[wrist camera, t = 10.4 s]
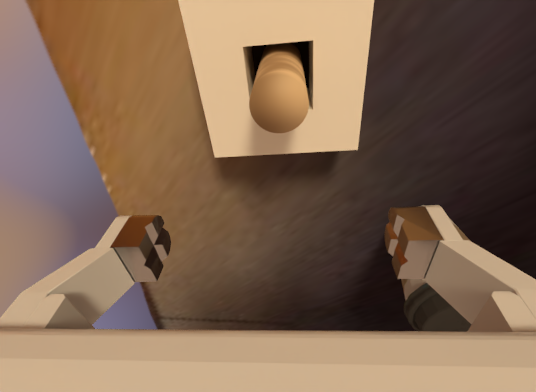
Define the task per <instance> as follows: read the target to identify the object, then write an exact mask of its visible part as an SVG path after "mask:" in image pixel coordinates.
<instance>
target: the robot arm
mask: <svg viewBox="0 0 536 392" xmlns="http://www.w3.org/2000/svg"><path fill="white" fill-rule="evenodd" d="M388 217H389V220H390V223H389V224H387V225H386V228H385V244H386V248H387V251H388V253H390V254H391V255H392V256H393V259H392V265H393V268H394V271H395V273H396V276H397V279H425V280H424V281H425V282H427V283H428V284H429V285H430V286H431V287H432V288H433V289H434V290H435V291H436V292H437V293H438V294H439V295H440V296H442V297H443V298H444V299H445V300H446V301H447V302H448V303H449V304H450V305H451V306H452V307H453V308H454V309H455V310H457V311H458V312H459V313H460V314H461V315H462V316H463V317H464V318H465V319H466V320H467V321H468V322H469V323H470V324H472V325H471V327H470V328H469V330H468V331H467V332H442V331H284V330H146V329H145V330H144V329H138V330H137V329H135V330H134V329H95V328H94V327H93V326H92V324H93V323H94V322H95V321H96V320H97V319H98V318H99V317H100V316H101V315H102V314H103V313H104V312H106V311H107V310H108V309H109V308H110V307H111V306H112V305H113V304H114V303H115V302H116V301H117V300H118V299H119V298H120V297H121V296H122V295H123V294H124V293H125V292H126V291H127V290H128V289H129V288H130V287H131V286H132V285H133V284H134V282H150V281H157V280H158V278H159V276H160V273H161V271H162V268H163V264H162V260H164V259H165V258H166V257H167V256H168V254H169V251H170V245H171V240H170V236H169V233H168V231H166V230H165V229H163V228H162V227H163V225H164V222H163V219H162V217H161V216H159V215H133V216H119V217H117V218H116V219H115V220H114V221H113V223H112V224H111V226H110V227H109V228H108V230H107V231H106V233H105V234H104V236H103V237H102V238H101V240H100V241H99V243H98V244H97V246H96V247H95V248H93V249H89V250H88V251H86V252H84V253H83V254H81V255H80V256H78V257H76V258H75V259H73V260H72V261H70V262H69V263H67V264H66V265H64V266H63V267H61V268H59V269H58V270H56V271H55V272H53V273H51V274H50V275H48V276H47V277H45V278H44V279H42V280H40V281H39V282H37V283H36V284H34V285H33V286H31V287H30V288H28V289H27V290H25V291H23V292H22V293H21V294H20V295H19V296H18V297H17V298H16V300H15V301H14V302H13V303H12V305H11V306H10V307H9V308H8V309H7V311H6V312H5V313H4V314H3V315H2V317H1V318H0V392H536V279H534V278H532V277H531V276H529V275H527V274H525V273H524V272H522V271H520V270H519V269H517V268H515V267H513V266H512V265H510V264H508V263H507V262H505V261H503V260H501V259H500V258H498V257H496V256H495V255H493V254H491V253H489V252H488V251H486V250H484V249H483V248H481V247H479V246H478V245H476V244H474V243H472V242H471V241H469V240H463V239H462V237H461V236H460V234H459V233H458V231H457V230H456V228H455V227H454V225H453V224H452V222H451V221H450V219H449V218H448V216H447V215H446V213H445V212H444V210H443V208H442V207H441V206H439V205H428V206H412V207H391V209H390V210H389V214H388Z"/></svg>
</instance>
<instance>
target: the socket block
mask: <svg viewBox="0 0 536 392" xmlns="http://www.w3.org/2000/svg"><path fill="white" fill-rule="evenodd" d="M178 1H179V5H180V10H181V14H182V18H183V23H184V27H185V31H186V35H187V40H188V44H189V48H190V53H191V57H192V61H193V66H194V70H195V74H196V79H197V83H198V87H199V91H200V96H201V100H202V104H203V109H204V113H205V117H206V122H207V126H208V130H209V134H210V139H211V143H212V147H213V152H214V156H215V158H216V157H235V156H253V155H271V154H289V153H307V152H326V151H344V150H358V142H359V133H360V124H361V115H362V106H363V97H364V88H365V79H366V70H367V61H368V52H369V43H370V33H371V24H372V15H373V6H374V0H178ZM301 41H309V88H307V93H308V99H309V109H308V113H307V116H306V118H305V119H304V121H303V122H302V123H301V124H300V125H299V126H298V127H297V128H295V129H294V130H292V131H289V132H286V133H272V132H269V131H266V130H264V129H262V128H261V127H260V126H259V125H258V124H257V123H256V122H255V121H254V119H253V118H252V116H251V113H250V108H249V100H250V95H251V92H252V88H253V85H254V81H255V72H254V63H253V54H252V46H257V45H268V44H279V43H290V42H301Z"/></svg>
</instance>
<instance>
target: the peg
mask: <svg viewBox="0 0 536 392" xmlns="http://www.w3.org/2000/svg"><path fill="white" fill-rule="evenodd" d="M249 108H250V113H251V116H252V118H253V119H254V121H255V122H256V123H257V124H258V125H259V126H260V127H261V128H262V129H264V130H266V131H269V132H272V133H286V132H289V131H292V130H294V129H295V128H297V127H298V126H299V125H300V124H301V123H302V122H303V121H304V119H305V118H306V116H307V113H308V109H309V99H308V93H307V87H306V81H305V76H304V70H303V64H302V58H301V54H300V51H299V49H298V47H297V46H296V45H295V44H294V43H293V42H290V43H279V44H268V45H267V46H266V48H265V49H264V51H263V53H262V57H261V60H260V64H259V67H258V71H257V74H256V78H255V81H254V85H253V88H252V92H251V95H250V100H249Z"/></svg>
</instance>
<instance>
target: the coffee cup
mask: <svg viewBox="0 0 536 392" xmlns="http://www.w3.org/2000/svg"><path fill="white" fill-rule="evenodd" d="M423 206H424V205H423ZM448 218H449V217H448ZM449 219H450V218H449ZM450 221H451V222H452V224H453V225H454V227H455V228H456V230H457V231H458V233H459V234H460V236H461V237H462V239H463V240H469V239H468V238H467V237H466V236H465V234H464V233H463V232H462V231H461V230H460V229H459V228H458V227H457V226H456V225H455V224H454V223H453V221H452V220H451V219H450ZM469 241H470V240H469ZM401 280H402V285H403V290H404V294H405V299H406V302H405V303H404V314H405V315H406V317H407V320H408V321H409V323H410V324H411V326H412V327H413V328H414V329H416V330H417V331H442V332H467V331H468V330H469V328H470V327H471V325H472V324H470V323H469V322H468V321H467V320H466V319H465V318H464V317H463V316H462V315H461V314H460V313H459V312H458V311H457V310H455V309H454V308H453V307H452V306H451V305H450V304H449V303H448V302H447V301H446V300H445V299H444V298H443V297H442V296H440V295H439V294H438V293H437V292H436V291H435V290H434V289H433V288H432V287H431V286H430V285H429V284H428V283H427V282H425V281H424V280H425V279H401Z"/></svg>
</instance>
